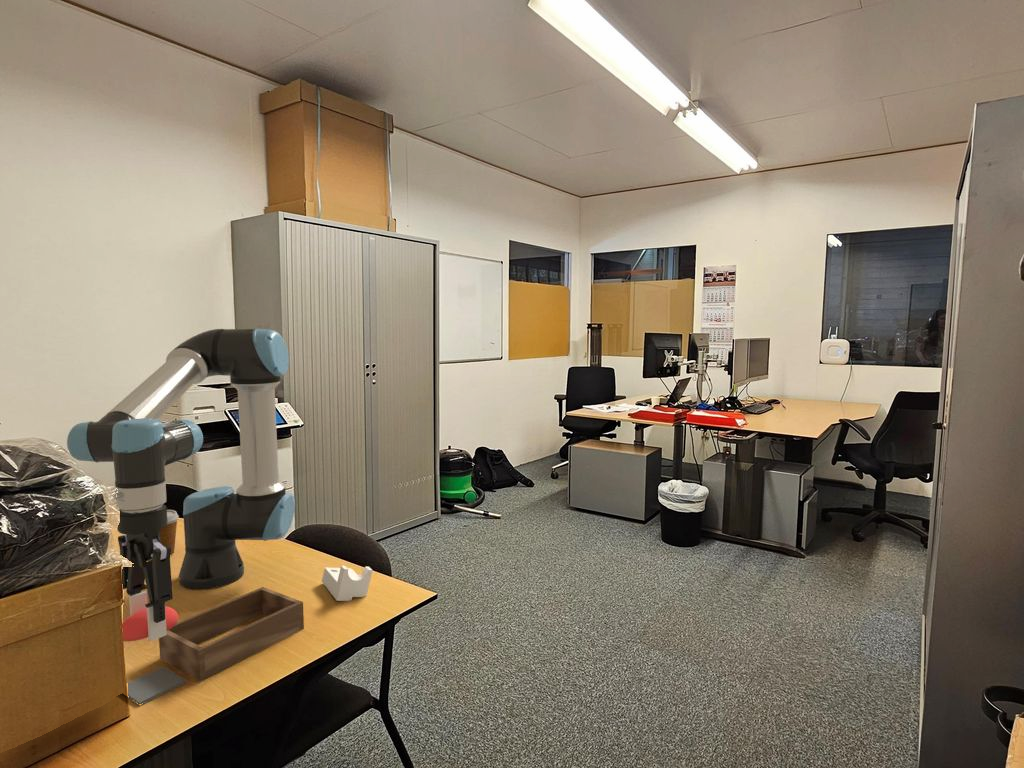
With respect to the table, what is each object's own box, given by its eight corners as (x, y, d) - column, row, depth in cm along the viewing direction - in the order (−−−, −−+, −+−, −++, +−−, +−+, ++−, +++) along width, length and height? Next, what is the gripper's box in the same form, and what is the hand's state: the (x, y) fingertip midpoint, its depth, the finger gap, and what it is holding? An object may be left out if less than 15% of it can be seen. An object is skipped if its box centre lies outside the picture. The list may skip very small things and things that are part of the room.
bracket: (365, 601, 144) (372, 570, 144) (337, 600, 140) (344, 569, 140) (348, 581, 154) (354, 553, 155) (321, 581, 150) (328, 551, 151)
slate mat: (117, 690, 106) (116, 687, 106) (163, 669, 113) (162, 666, 113) (139, 705, 102) (139, 702, 102) (186, 682, 108) (186, 679, 108)
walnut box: (160, 659, 116) (158, 630, 116) (263, 612, 135) (262, 586, 135) (200, 681, 109) (198, 650, 108) (303, 628, 128) (303, 602, 127)
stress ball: (174, 644, 105) (185, 607, 108) (117, 640, 100) (130, 601, 103) (168, 644, 109) (179, 608, 112) (112, 640, 104) (125, 602, 107)
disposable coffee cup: (187, 553, 171) (185, 512, 170) (152, 564, 163) (150, 521, 162) (169, 546, 176) (167, 507, 175) (135, 557, 168) (132, 516, 167)
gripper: (93, 503, 106) (100, 628, 108) (146, 521, 96) (153, 657, 98) (137, 494, 112) (144, 611, 114) (192, 510, 102) (198, 638, 104)
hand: (148, 632), depth 106 cm, fingers closed on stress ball, 5 cm apart
